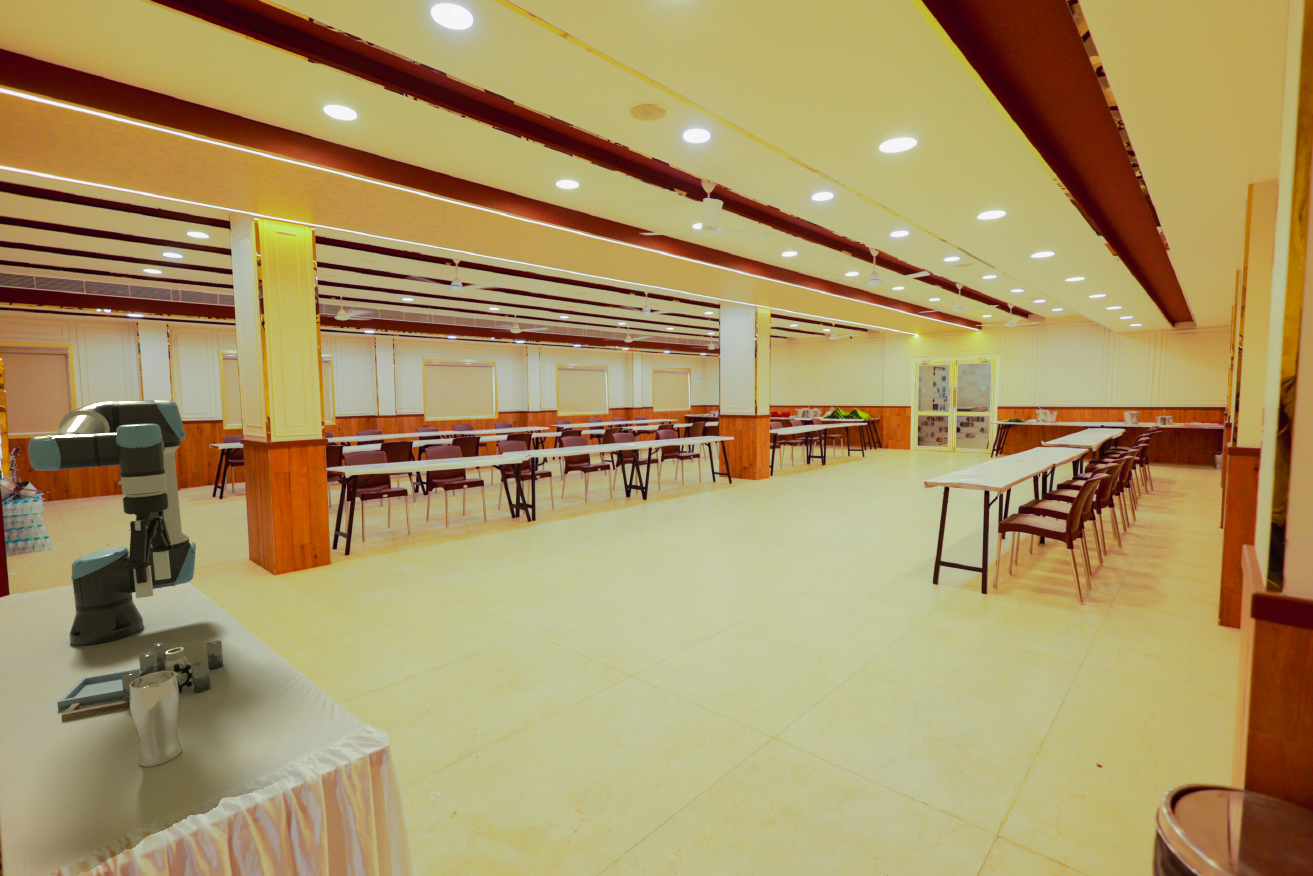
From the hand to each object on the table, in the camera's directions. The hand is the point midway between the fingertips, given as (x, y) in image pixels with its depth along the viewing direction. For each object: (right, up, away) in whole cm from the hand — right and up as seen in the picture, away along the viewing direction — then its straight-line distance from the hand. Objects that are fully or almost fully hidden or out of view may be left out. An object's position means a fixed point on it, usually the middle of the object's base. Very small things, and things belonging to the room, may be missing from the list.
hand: (154, 587), depth 133 cm
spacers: (+1, -23, +6) cm, 24 cm away
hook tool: (-5, -24, -6) cm, 25 cm away
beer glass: (+21, -26, -23) cm, 41 cm away
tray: (-12, -24, +1) cm, 27 cm away
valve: (+2, -23, +4) cm, 24 cm away
